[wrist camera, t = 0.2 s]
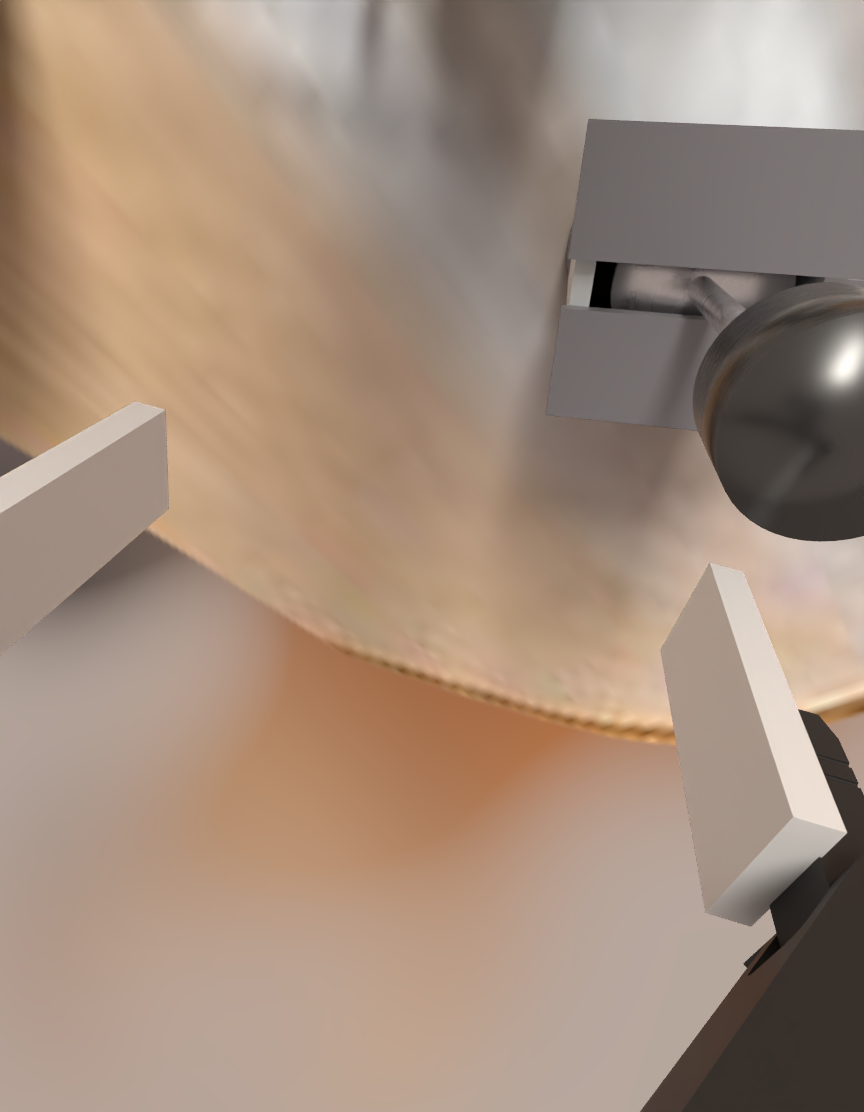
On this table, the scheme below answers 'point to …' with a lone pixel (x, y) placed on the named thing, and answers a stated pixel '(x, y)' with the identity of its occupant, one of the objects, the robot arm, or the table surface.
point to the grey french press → (692, 248)
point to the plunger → (773, 390)
